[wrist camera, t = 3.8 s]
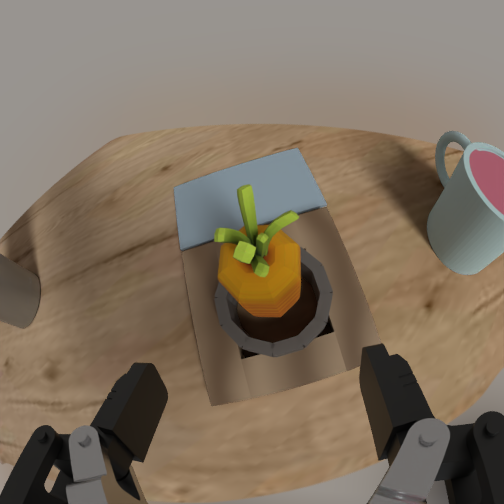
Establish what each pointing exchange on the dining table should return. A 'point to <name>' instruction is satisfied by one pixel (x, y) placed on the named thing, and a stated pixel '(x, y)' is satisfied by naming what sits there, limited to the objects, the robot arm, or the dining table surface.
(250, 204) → the carrot
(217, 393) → the ring stand
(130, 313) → the dining table surface
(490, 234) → the mug
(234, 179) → the slate mat
